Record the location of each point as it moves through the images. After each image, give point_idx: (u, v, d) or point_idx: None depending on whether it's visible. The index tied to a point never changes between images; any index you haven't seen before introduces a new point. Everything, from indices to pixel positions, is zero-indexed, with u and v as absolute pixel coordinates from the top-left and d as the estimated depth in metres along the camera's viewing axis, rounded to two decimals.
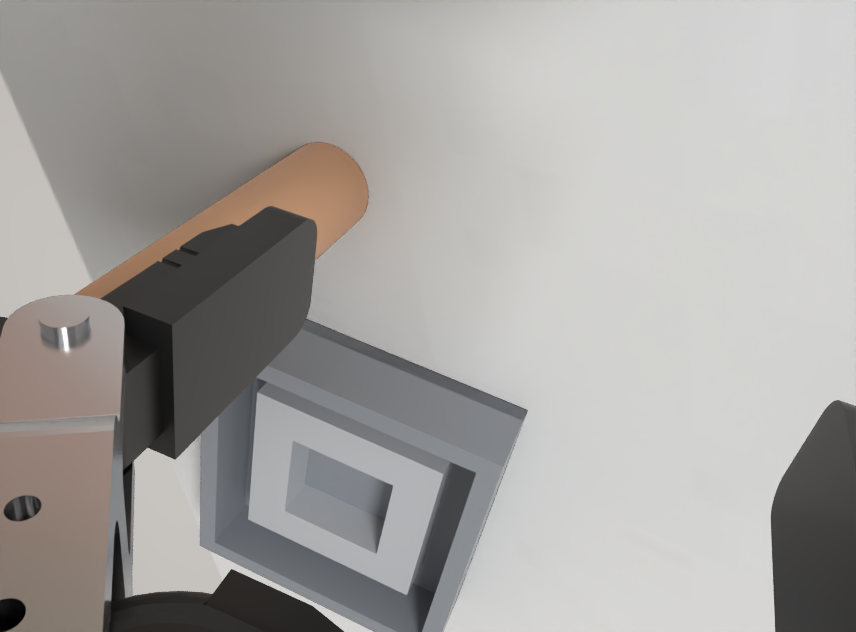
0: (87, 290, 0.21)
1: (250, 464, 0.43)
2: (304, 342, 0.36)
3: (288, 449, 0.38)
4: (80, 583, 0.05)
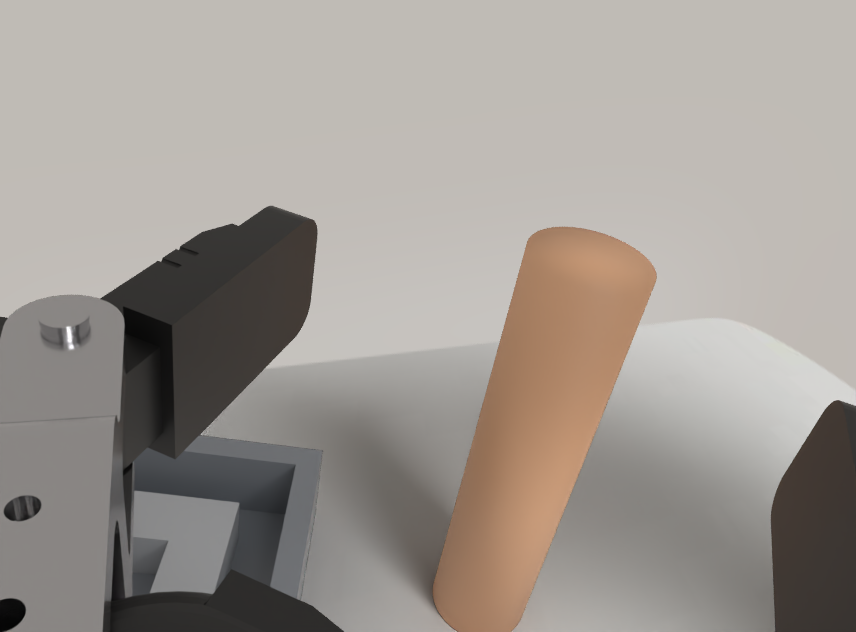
0: None
1: None
2: (305, 564, 0.30)
3: (149, 534, 0.28)
4: (80, 583, 0.05)
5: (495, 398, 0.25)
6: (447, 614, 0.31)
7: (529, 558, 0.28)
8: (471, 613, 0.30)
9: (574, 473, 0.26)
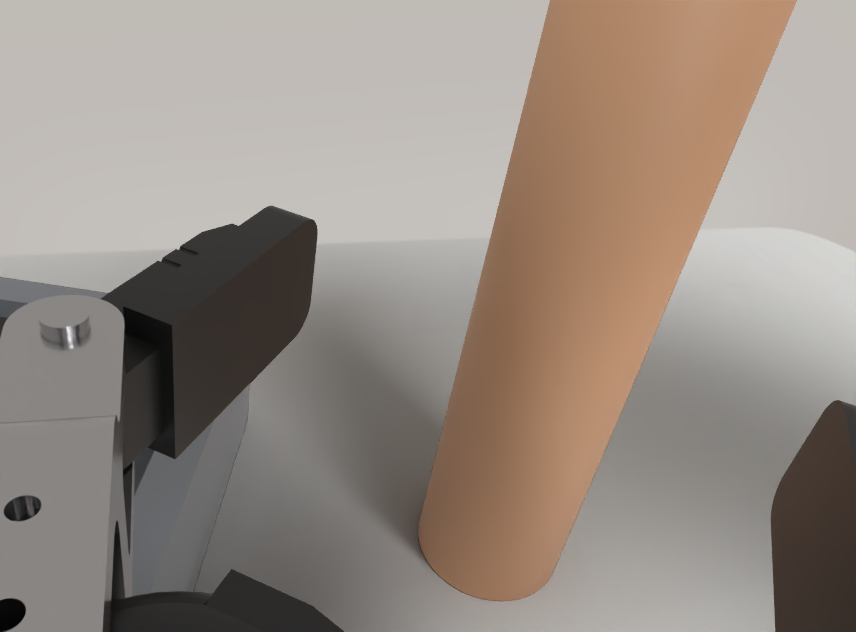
0: None
1: None
2: (216, 478, 0.19)
3: None
4: (80, 583, 0.05)
5: (529, 148, 0.14)
6: (440, 561, 0.20)
7: (576, 460, 0.17)
8: (478, 557, 0.19)
9: (662, 298, 0.15)
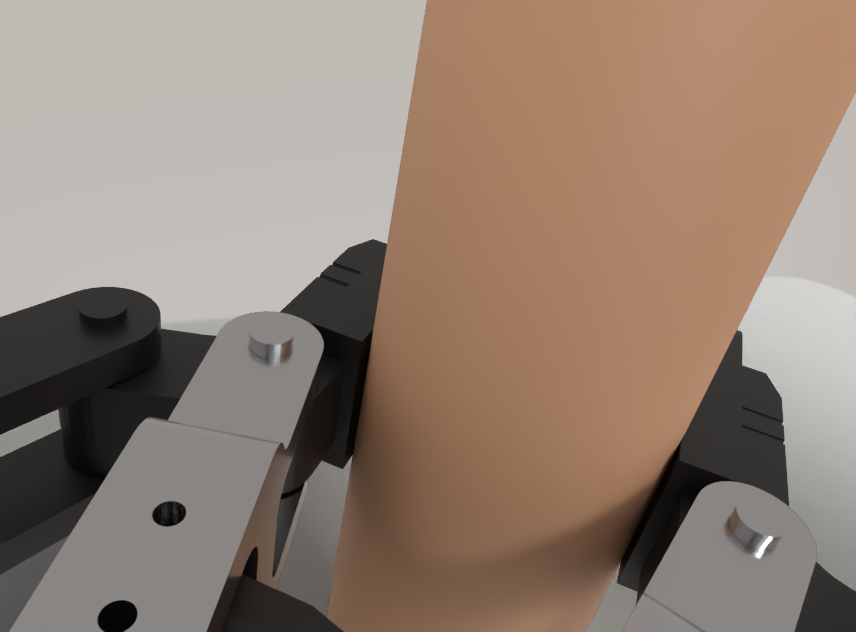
0: None
1: None
2: None
3: None
4: (190, 608, 0.05)
5: (388, 332, 0.08)
6: None
7: None
8: None
9: (618, 553, 0.09)
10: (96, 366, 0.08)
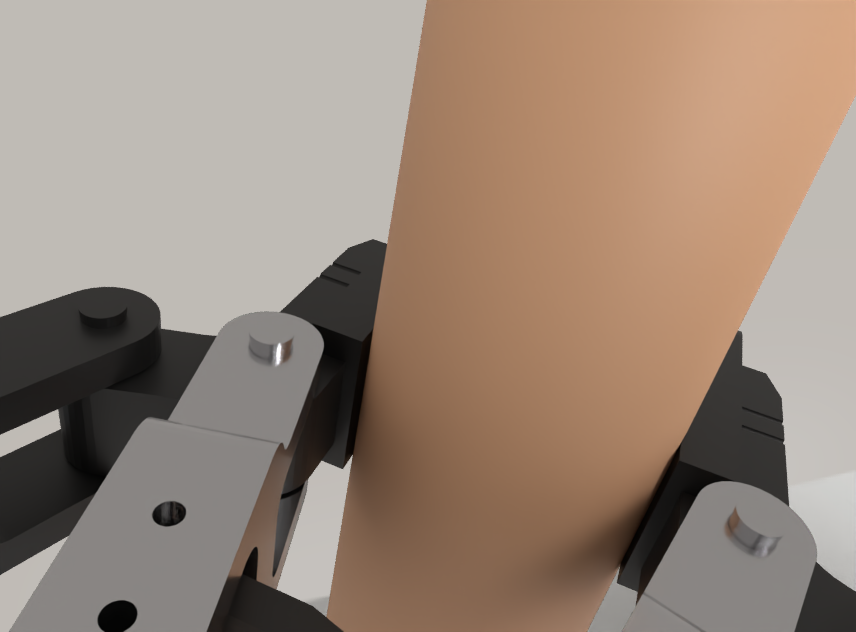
0: None
1: None
2: None
3: None
4: (191, 608, 0.05)
5: (387, 335, 0.08)
6: None
7: None
8: None
9: (618, 556, 0.09)
10: (96, 366, 0.08)
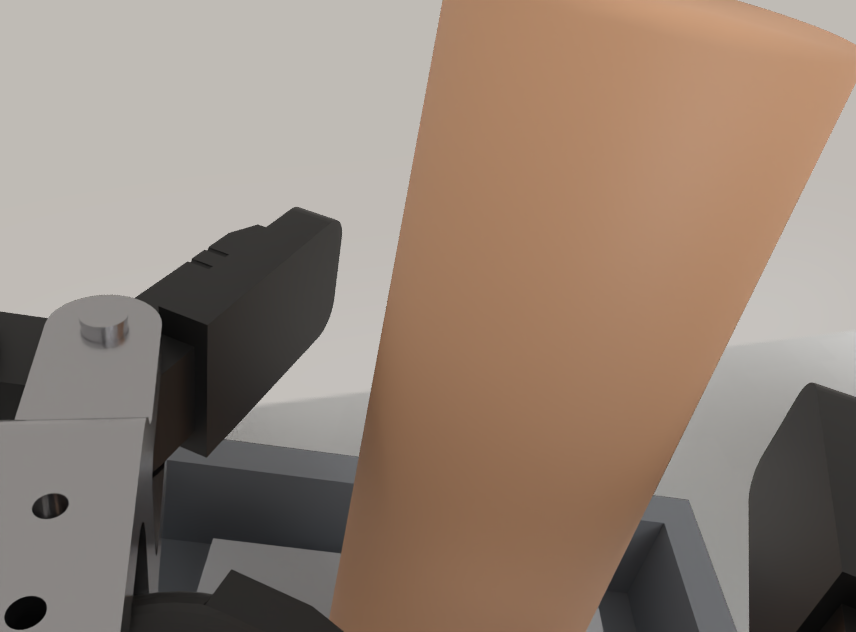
0: None
1: None
2: None
3: None
4: (101, 585, 0.05)
5: (378, 428, 0.09)
6: None
7: None
8: None
9: (585, 621, 0.10)
10: None
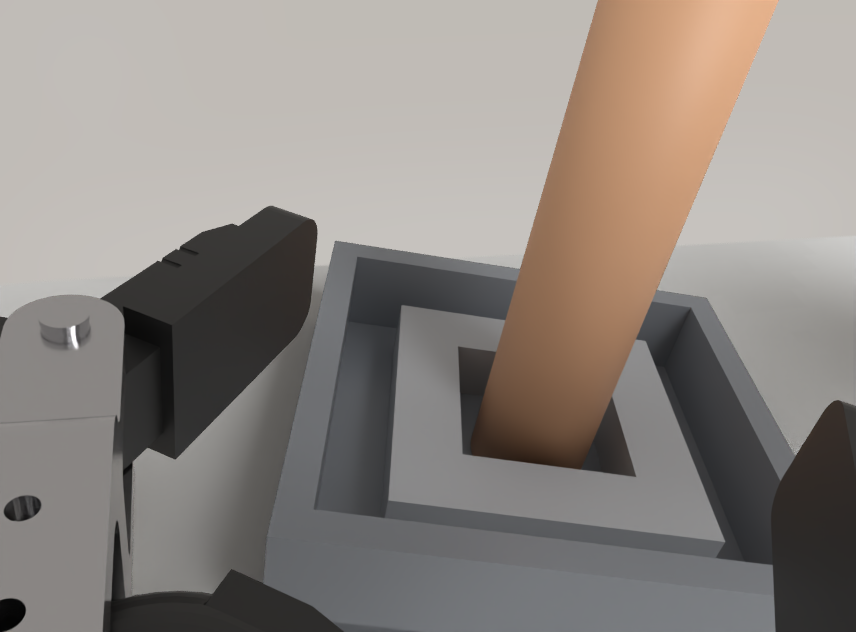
0: None
1: None
2: None
3: None
4: (80, 583, 0.05)
5: (570, 147, 0.19)
6: None
7: (599, 380, 0.22)
8: (522, 460, 0.24)
9: (665, 256, 0.20)
10: None
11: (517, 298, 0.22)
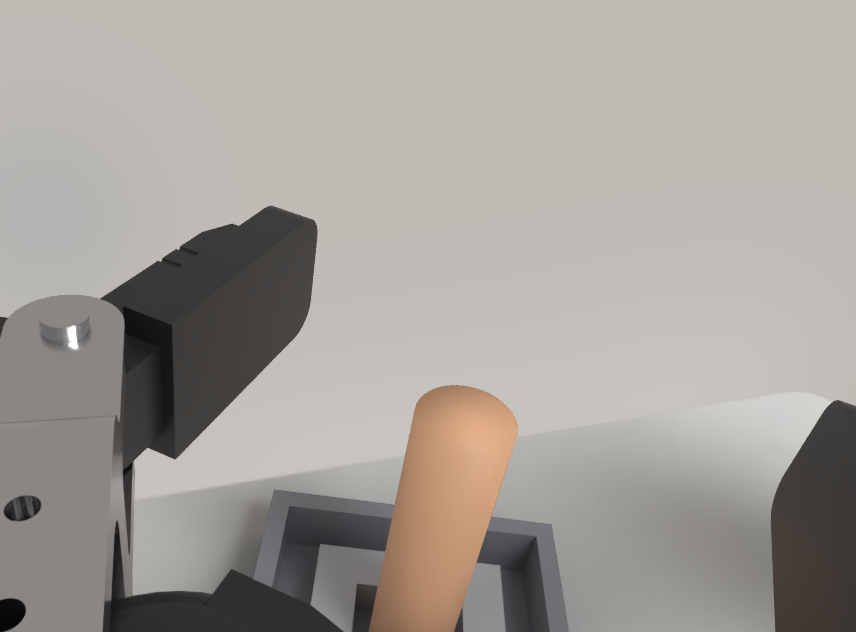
0: None
1: None
2: None
3: None
4: (80, 583, 0.05)
5: (397, 520, 0.30)
6: None
7: None
8: None
9: (465, 578, 0.31)
10: None
11: (379, 587, 0.34)
